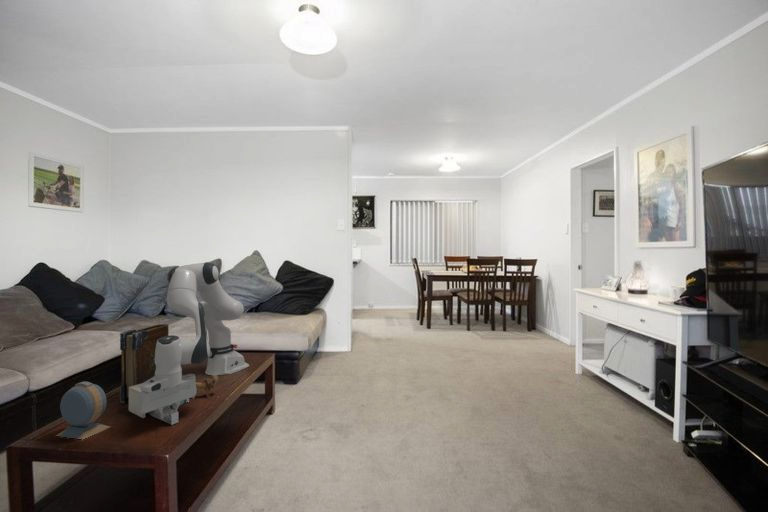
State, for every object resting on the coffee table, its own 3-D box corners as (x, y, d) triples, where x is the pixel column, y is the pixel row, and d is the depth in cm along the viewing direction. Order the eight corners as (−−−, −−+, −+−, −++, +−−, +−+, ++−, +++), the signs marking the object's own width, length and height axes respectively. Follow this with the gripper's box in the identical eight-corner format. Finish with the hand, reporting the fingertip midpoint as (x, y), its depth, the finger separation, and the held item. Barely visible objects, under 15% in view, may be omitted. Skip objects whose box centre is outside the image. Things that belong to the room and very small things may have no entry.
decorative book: (136, 403, 152) (136, 333, 152) (120, 402, 153) (120, 333, 153) (171, 383, 176) (171, 323, 176) (157, 383, 176) (157, 322, 176)
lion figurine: (218, 392, 165) (218, 372, 165) (218, 396, 160) (218, 376, 160) (182, 397, 159) (182, 377, 159) (181, 401, 154) (181, 380, 154)
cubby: (174, 396, 160) (174, 374, 160) (189, 402, 153) (189, 379, 153) (128, 410, 145) (128, 386, 145) (142, 418, 138) (142, 393, 138)
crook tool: (167, 407, 148) (167, 397, 148) (191, 417, 138) (191, 406, 138) (148, 414, 142) (147, 404, 142) (171, 424, 132) (171, 414, 132)
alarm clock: (112, 427, 131) (112, 379, 131) (85, 440, 121) (85, 388, 121) (82, 423, 134) (82, 376, 134) (53, 436, 124) (53, 385, 125)
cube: (178, 400, 155) (178, 389, 155) (184, 403, 152) (184, 391, 152) (166, 405, 151) (166, 393, 151) (172, 407, 148) (172, 395, 148)
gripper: (191, 370, 146) (191, 404, 146) (134, 386, 129) (135, 424, 129) (199, 373, 143) (199, 407, 143) (143, 389, 125) (143, 429, 125)
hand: (168, 415), depth 136 cm, fingers closed on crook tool, 2 cm apart
